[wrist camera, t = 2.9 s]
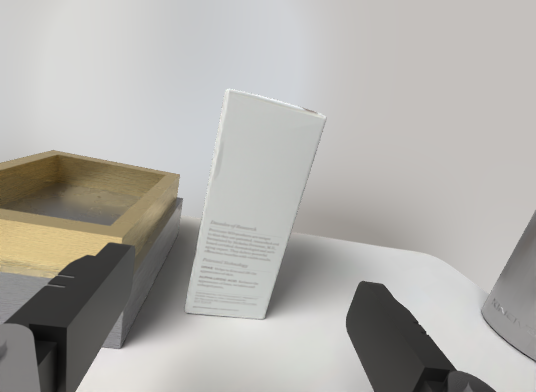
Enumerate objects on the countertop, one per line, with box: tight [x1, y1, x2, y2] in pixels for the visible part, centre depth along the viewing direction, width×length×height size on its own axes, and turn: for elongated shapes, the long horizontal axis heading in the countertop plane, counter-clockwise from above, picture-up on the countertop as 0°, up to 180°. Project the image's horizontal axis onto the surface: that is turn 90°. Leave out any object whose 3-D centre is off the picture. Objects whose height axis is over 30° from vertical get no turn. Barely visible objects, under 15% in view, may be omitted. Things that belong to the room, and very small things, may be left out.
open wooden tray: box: [0, 150, 183, 349], centre depth 20 cm, size 15×14×6 cm
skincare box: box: [184, 89, 326, 319], centre depth 20 cm, size 8×6×15 cm
